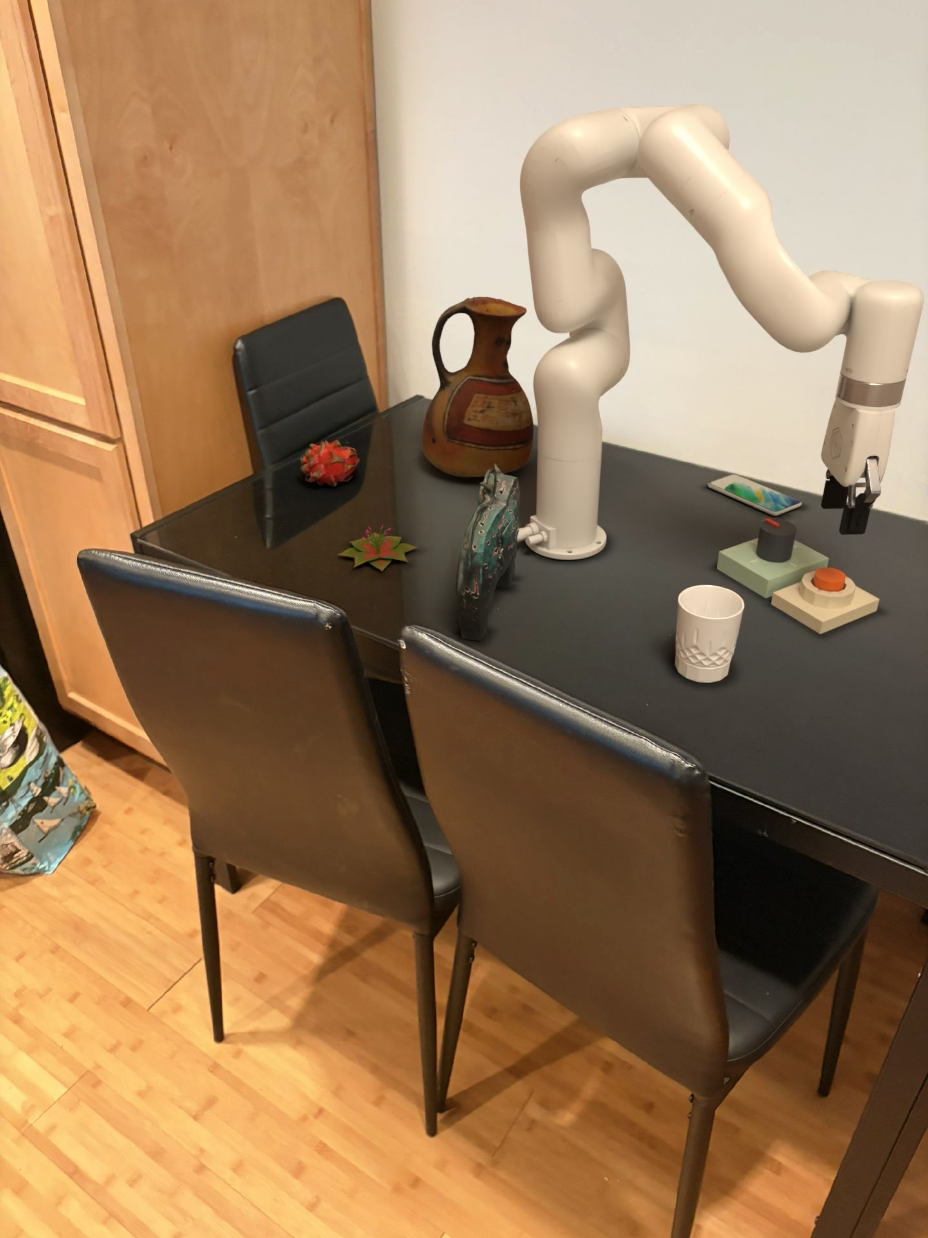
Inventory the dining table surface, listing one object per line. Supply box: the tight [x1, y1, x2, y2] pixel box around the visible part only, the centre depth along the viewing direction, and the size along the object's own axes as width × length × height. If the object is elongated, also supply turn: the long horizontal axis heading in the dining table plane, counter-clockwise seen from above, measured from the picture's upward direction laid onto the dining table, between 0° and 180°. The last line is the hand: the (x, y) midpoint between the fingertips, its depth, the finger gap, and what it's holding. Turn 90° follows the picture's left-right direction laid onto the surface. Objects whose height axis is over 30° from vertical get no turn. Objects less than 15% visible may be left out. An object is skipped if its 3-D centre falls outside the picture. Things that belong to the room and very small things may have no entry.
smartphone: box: [707, 473, 802, 517], centre depth 164 cm, size 7×1×15 cm
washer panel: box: [716, 537, 830, 599], centre depth 142 cm, size 12×10×3 cm
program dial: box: [756, 517, 797, 562], centre depth 140 cm, size 5×5×5 cm
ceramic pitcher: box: [421, 296, 535, 478], centre depth 169 cm, size 20×20×30 cm
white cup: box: [674, 584, 745, 684], centre depth 120 cm, size 8×8×10 cm
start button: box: [813, 566, 847, 592], centre depth 132 cm, size 4×4×2 cm
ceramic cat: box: [454, 463, 521, 642], centre depth 131 cm, size 20×6×20 cm, turn 163°
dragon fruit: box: [299, 439, 361, 488], centre depth 171 cm, size 8×8×12 cm
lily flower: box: [337, 524, 419, 572], centre depth 149 cm, size 12×12×5 cm
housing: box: [770, 571, 880, 635], centre depth 133 cm, size 11×9×4 cm
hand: (842, 519), depth 127 cm, fingers open, 6 cm apart
